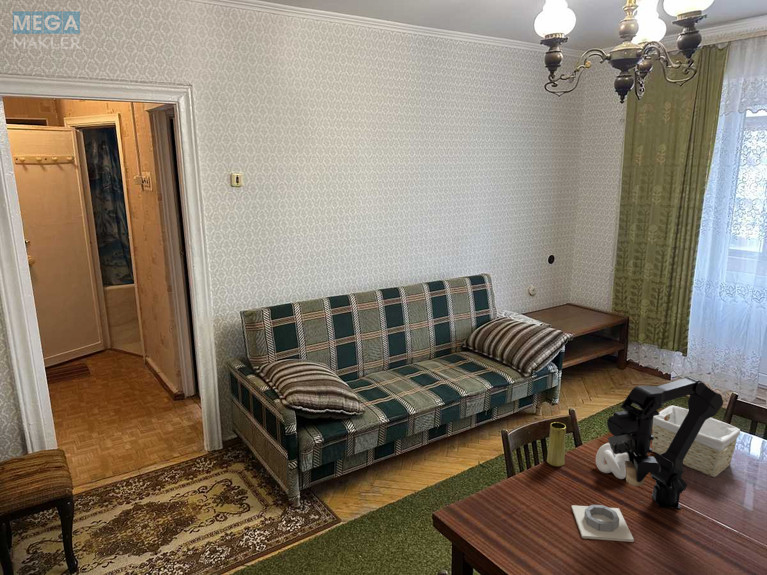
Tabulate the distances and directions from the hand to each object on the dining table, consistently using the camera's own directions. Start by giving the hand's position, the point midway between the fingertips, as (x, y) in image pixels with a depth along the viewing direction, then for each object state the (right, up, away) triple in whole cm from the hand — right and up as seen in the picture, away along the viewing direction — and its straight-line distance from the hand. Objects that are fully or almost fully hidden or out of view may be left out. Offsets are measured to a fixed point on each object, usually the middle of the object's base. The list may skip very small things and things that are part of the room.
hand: (635, 476), depth 161 cm
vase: (-15, -6, +30) cm, 34 cm away
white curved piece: (+3, -7, +24) cm, 25 cm away
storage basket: (+35, -5, +32) cm, 47 cm away
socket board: (-12, -13, -3) cm, 18 cm away
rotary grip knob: (0, -2, 0) cm, 2 cm away
